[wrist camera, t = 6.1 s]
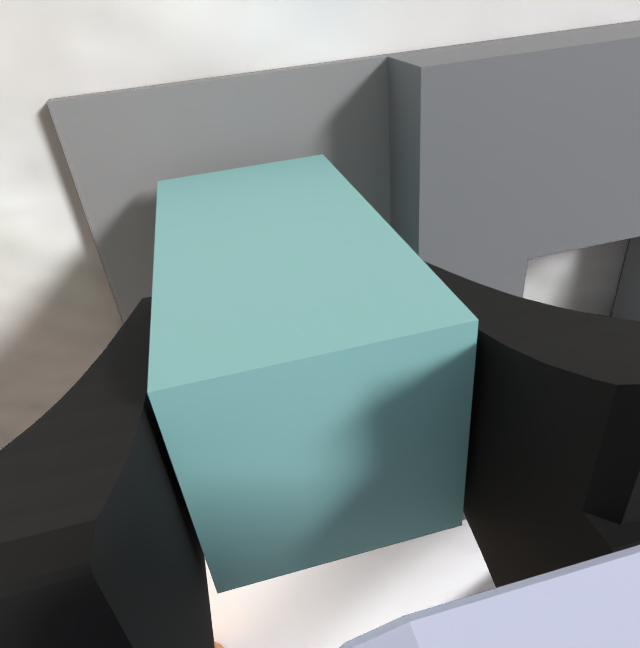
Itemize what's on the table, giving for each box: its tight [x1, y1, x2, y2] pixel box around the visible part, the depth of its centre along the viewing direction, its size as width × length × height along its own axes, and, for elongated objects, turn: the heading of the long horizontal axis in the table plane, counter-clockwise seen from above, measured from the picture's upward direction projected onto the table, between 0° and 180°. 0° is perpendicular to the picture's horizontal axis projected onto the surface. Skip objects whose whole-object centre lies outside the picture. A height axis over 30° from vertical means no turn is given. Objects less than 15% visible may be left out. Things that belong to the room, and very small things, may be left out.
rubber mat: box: [46, 55, 391, 324], centre depth 15 cm, size 8×8×1 cm
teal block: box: [147, 154, 479, 593], centre depth 11 cm, size 4×4×8 cm
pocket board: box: [384, 21, 640, 520], centre depth 18 cm, size 16×12×2 cm
